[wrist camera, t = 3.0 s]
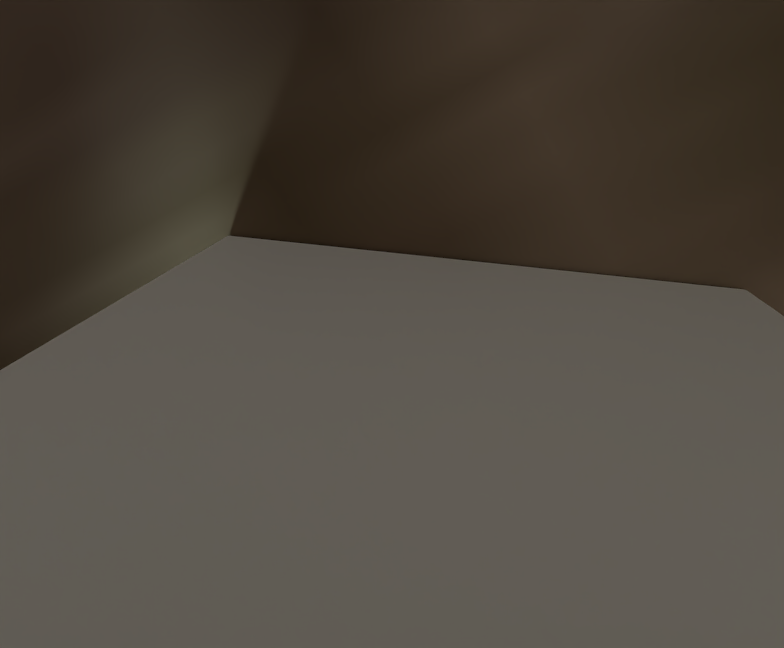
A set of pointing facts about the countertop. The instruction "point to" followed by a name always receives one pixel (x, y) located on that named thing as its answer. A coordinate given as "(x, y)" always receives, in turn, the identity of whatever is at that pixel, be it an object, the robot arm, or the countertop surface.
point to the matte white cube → (396, 460)
